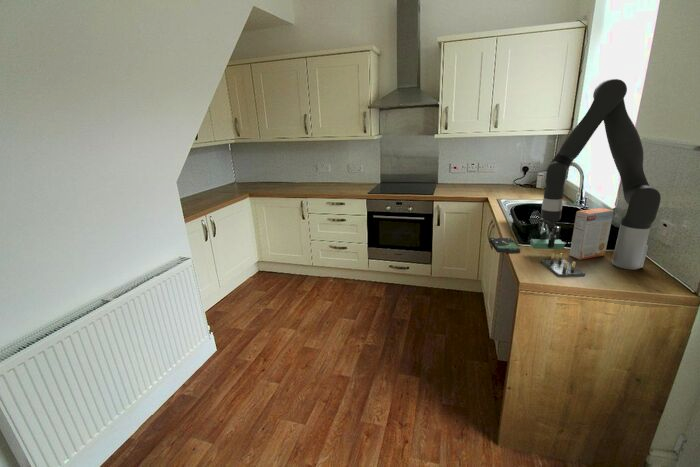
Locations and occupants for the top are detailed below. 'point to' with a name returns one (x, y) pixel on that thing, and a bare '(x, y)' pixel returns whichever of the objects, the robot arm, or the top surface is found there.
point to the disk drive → (504, 245)
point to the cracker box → (591, 233)
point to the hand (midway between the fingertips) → (546, 244)
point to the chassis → (562, 267)
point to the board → (546, 244)
